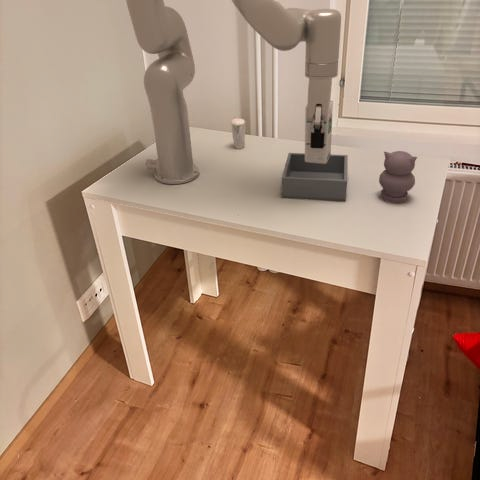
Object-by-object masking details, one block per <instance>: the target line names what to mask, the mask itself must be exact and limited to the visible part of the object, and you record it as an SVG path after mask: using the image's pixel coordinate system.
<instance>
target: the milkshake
mask: <svg viewBox="0 0 480 480" xmlns="http://www.w3.org/2000/svg"><path fill="white" fill-rule="evenodd" d="M246 121H247V117H246V118H245V119H244V118H236V117H235V118H234V119H232V120H231V121H230V126H231V127H230V128H231V133H232V134H231V135H232V140H233V148H234V149H237V150H242V149H244V148H245V141H246V139H245V138H246Z"/></svg>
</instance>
